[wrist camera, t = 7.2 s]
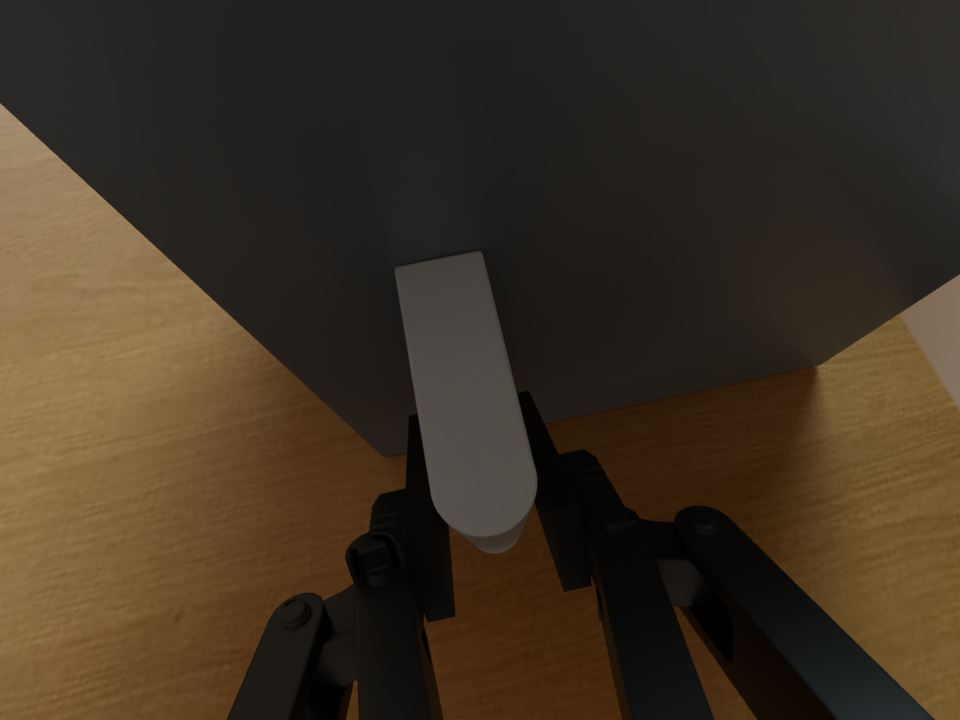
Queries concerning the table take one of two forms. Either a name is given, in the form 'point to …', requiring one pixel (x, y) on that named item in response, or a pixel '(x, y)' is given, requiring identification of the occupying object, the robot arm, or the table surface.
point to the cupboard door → (515, 193)
